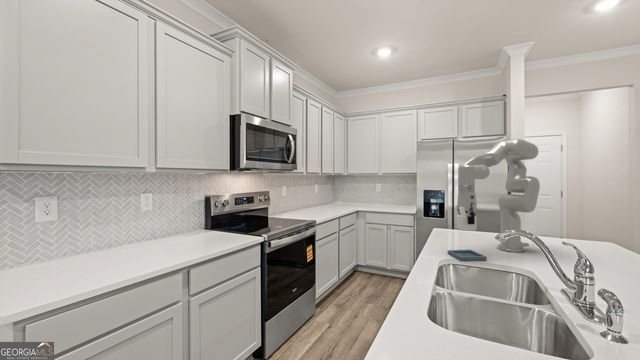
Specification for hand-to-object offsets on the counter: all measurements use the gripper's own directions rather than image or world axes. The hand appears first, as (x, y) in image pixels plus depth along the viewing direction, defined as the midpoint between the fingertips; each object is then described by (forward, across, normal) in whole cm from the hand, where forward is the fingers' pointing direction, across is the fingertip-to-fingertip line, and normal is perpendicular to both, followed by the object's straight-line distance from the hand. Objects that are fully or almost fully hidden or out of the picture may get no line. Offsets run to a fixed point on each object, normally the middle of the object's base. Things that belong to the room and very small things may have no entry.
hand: (466, 222), depth 141 cm
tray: (+18, 0, 0) cm, 18 cm away
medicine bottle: (+4, 0, 0) cm, 4 cm away
